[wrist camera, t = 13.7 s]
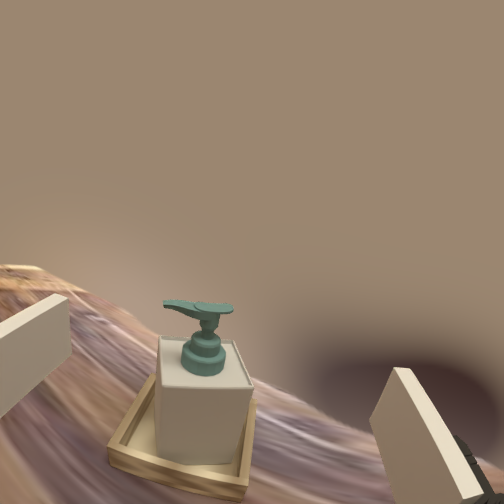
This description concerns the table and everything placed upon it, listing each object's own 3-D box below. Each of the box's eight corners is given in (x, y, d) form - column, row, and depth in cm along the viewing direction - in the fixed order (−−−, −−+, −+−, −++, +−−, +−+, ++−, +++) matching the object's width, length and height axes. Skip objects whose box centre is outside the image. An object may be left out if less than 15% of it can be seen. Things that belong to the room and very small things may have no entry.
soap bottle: (152, 414, 35) (162, 281, 31) (217, 416, 38) (244, 290, 34) (156, 465, 27) (164, 324, 23) (232, 464, 30) (271, 330, 26)
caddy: (251, 418, 40) (257, 399, 39) (240, 502, 25) (247, 486, 25) (150, 393, 40) (151, 372, 39) (110, 465, 26) (106, 446, 25)
